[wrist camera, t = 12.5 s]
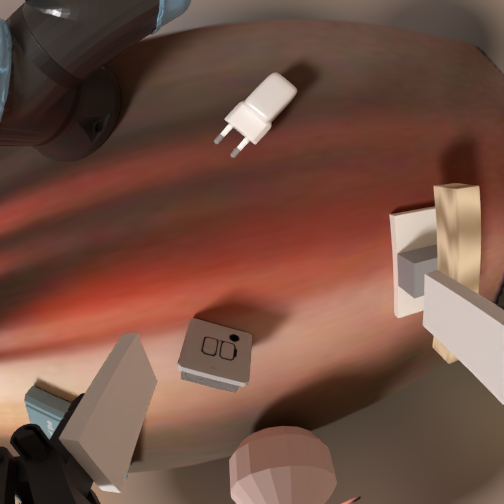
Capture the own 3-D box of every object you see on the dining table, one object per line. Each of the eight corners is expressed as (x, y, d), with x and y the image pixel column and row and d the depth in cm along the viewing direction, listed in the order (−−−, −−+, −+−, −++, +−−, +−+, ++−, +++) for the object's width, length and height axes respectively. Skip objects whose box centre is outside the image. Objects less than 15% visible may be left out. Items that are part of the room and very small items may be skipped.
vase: (250, 397, 48) (261, 561, 18) (339, 416, 50) (388, 550, 21) (217, 453, 51) (212, 584, 22) (296, 467, 54) (318, 584, 24)
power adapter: (239, 164, 38) (239, 162, 33) (210, 140, 38) (205, 134, 32) (295, 102, 37) (304, 91, 31) (267, 79, 36) (272, 65, 30)
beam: (433, 186, 33) (456, 189, 29) (455, 183, 33) (479, 185, 29) (432, 347, 39) (448, 363, 35) (452, 339, 39) (469, 354, 35)
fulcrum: (389, 214, 41) (412, 221, 34) (451, 203, 41) (477, 208, 34) (394, 314, 45) (412, 332, 38) (451, 295, 45) (473, 310, 38)
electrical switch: (253, 332, 44) (253, 374, 36) (242, 358, 46) (241, 401, 37) (191, 315, 43) (178, 354, 35) (184, 342, 45) (171, 383, 36)
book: (45, 430, 51) (37, 443, 46) (34, 383, 47) (23, 396, 42) (131, 463, 53) (126, 479, 48) (131, 421, 49) (125, 439, 44)
